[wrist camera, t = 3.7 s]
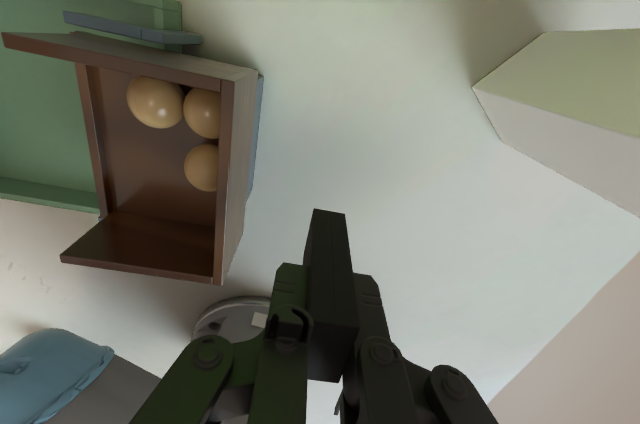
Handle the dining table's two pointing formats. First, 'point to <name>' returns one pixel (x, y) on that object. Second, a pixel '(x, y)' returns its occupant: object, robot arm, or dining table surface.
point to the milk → (574, 108)
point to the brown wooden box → (155, 159)
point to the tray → (57, 100)
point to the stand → (163, 38)
